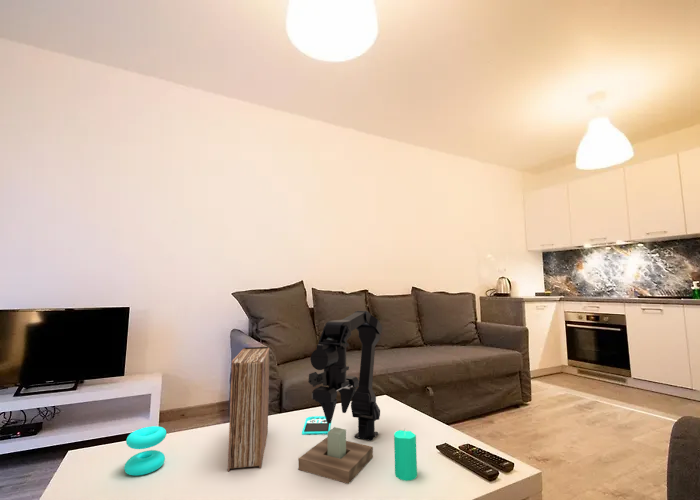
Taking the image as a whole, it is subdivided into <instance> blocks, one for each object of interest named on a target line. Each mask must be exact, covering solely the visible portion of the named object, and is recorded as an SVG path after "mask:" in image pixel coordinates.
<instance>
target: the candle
mask: <svg viewBox="0 0 700 500" xmlns="http://www.w3.org/2000/svg"><path fill="white" fill-rule="evenodd" d="M393 442H394V443H393V444H394V446H393V448H394V450H393V451H394V475H395V477H396V478H398V480H400V481H401V480H402V481H406V482H409V481H414V480H416V479H417V477H418V465H417V464H418V461H417V435H416V434H415V433H414V432H412V431H411V430H406V428H404V430H402V429H401V430H400V429H399V430H396V431H394V433H393Z"/></svg>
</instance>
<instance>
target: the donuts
mask: <svg viewBox="0 0 700 500" xmlns="http://www.w3.org/2000/svg"><path fill="white" fill-rule="evenodd" d="M166 437H167V430H166V428H164V427H163V426H158V425H151V426H145V427H142V428H138V429H136V430H134V431H132V432H131V433H129V434H128V435H127V438H126V440H125V442H126V445H127V447H128V448H131V449H134V450H144V451H141V452H138V453H136V454H134V455H132V456H130V457H129V458H128V459H127V461H125V463H124V467H123V468H124V472H125V473H126V474H127V475H130V476H143V475H147V474H150V473H151V474H152V473H153V472H155V471H157V470H158V469H160V468H161V467H162V466H163V465H164V463H165V462H166V461H165V460H166V456H165V454H164V453H163V452H162V451H160V450H156V449H155V450H154V449H151V450H146V449H150V448H153V447H155V446H157V445H159V444H160V443H162V442H163V441H164V440H165V439H166Z"/></svg>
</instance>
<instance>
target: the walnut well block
mask: <svg viewBox="0 0 700 500" xmlns="http://www.w3.org/2000/svg"><path fill="white" fill-rule="evenodd" d="M373 450H374V447H373V446H372V445H366V444H362V443H357V442H353V441H349V440H348V441H347V440H346V455H345V456H344V457H343V458H342V459H339V458H335V457H331V456H328V436H326V437H325V438H324V439H323V440H320V442H318V443H317V444H316V445H314V446H313V447H312V448H310V449H309V450H308V451H306V452H305V453H303V454H302V455H301V456H300V457H298V470H299V471H303V472H305V473H310V474H313V475H316V476H320V477H324V478H325V479H326V478H327V479H330V480H334V481H337V482H340V483H345V484H348V485H349V484H350V483H351V482H352V481H353V480H354V479H355V478H356V477H357V475H358V474H359V473H360V472H361V471H362V470H363V469H364V468H365V467H366V466H367V464H368V463H369V462H370V461H371V460H372V459H373V457H374V451H373Z"/></svg>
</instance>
